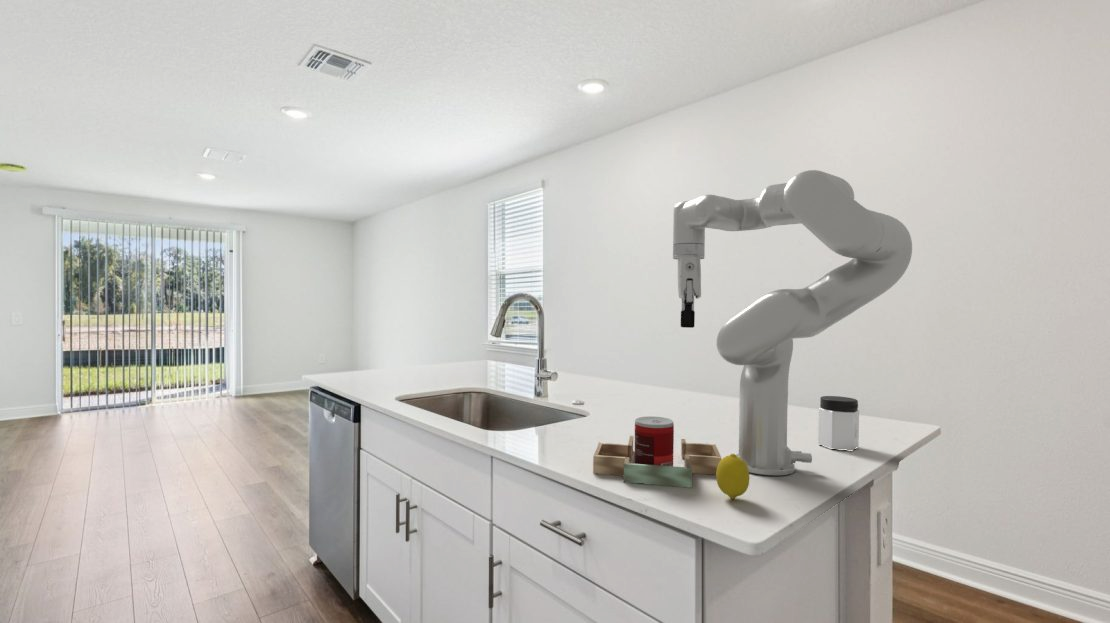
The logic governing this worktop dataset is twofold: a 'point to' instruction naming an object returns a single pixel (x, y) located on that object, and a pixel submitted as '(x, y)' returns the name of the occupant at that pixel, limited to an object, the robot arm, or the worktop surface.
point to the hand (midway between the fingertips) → (687, 327)
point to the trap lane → (619, 456)
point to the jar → (838, 422)
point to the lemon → (732, 476)
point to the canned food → (654, 441)
